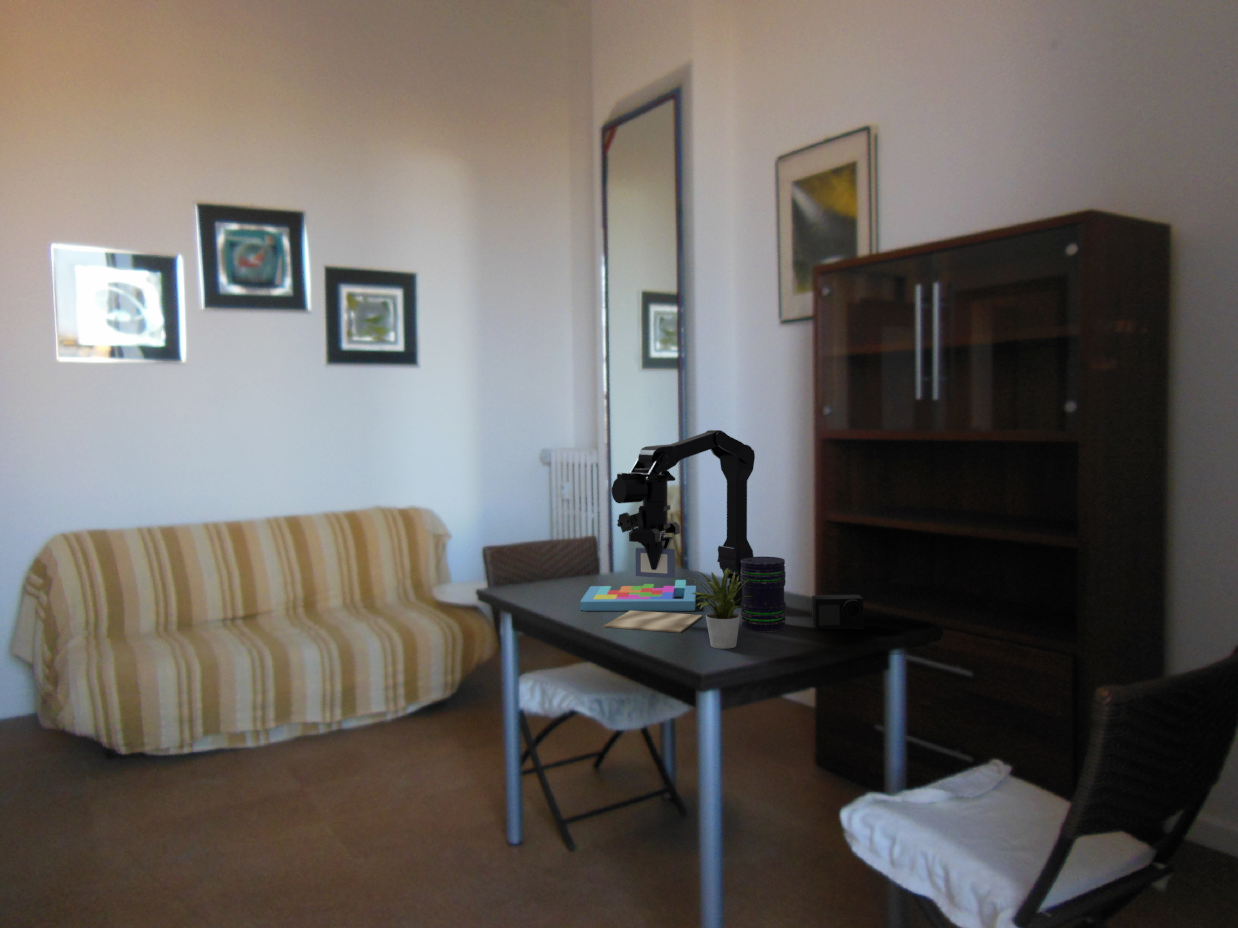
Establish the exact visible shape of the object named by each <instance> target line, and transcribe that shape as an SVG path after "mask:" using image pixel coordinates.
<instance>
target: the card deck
mask: <svg viewBox="0 0 1238 928" xmlns="http://www.w3.org/2000/svg"><path fill="white" fill-rule="evenodd" d="M675 559H676V549H675V548H668V549H664V548H663V550H662V554H661V557H660V560H659V563H658V566H657V569H656V570H652V569H651V566H650V563H649V559H648V556H647V552H646V549H645V547H644V546H643V547H642V546H641V547H639V546H638V547H635V577H640V578H641V577H642V578H644V577H645V578H661V579H662V578H663V579H675V578H676V560H675Z"/></svg>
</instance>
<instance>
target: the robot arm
mask: <svg viewBox="0 0 1238 928" xmlns="http://www.w3.org/2000/svg"><path fill="white" fill-rule="evenodd" d="M709 450H710V451H711V454H712V455H713V456H714V457H716V458H717V459H719V463H720V470H721V472H722V474H723V476H724V478H725V480H726V539H725V540H724V543H723V544H722V545H718V547H717V554H718V556H717V561H716V562H717V563H719V565H718V566H719V569H720V570H722V574H723V575H724V572H725V570H726V569H727V568H728V571H729V570H731V569H732V570H731V571H729V574H728V579H727V580H728V581H729V582H728V583H729V584H727V594H728V590H729V587H730V584H731V580H732V577H733V574H734V572H735V579H734V583H735V581H736V579H737V577H738V575H739V579H738V582H741V575H740V573H741V566H742V565H741V559H743V558H748V557H755V556H754V551H753V548H752V546H751V544H750V542H749V540H748V480H749V478H750V476H751V474H752V473H753V471H754V466H755V459H756V455H755V450H754V449H753V448H752V447H751V446H750V445H748V444H744V443H743V442H742V441H739V440H738V439H736V438H734V437H732V436H730V435H728V434H727V433H726V432H724V431H723V430H720V429H719V430H718V429H716V430H715V429H709V430H706V431H705V432H703V433H699V434H698V435H694V436H691V437H688V438H685V439H681V440H679V441H676V442H673V443H670V444H659V445H658V444H657V445H648V446H644V447H642V448H641V449H640V451H639V454H638V456H637V459H636V460H635V463H634V464H633V466H632V468H631V469H630V471H629V472H628V473H627V472H617V474H616V479H614V481H613V484H612V486H611V488H610V489H611V495H612V499H613V500H614V502H615V503H616V504H631V503H632V504H633V503H641V502H642V505H639V507H638V512H637V513H634V514H630V513H629V512H623V513H621V514H618V519H617V524H616V526H617V527H618V528H620V529H621V533H626V532H628V541H629V542H632V543H633V542H634V543H635V542H636V543H638V544H640V545H641V546H643V548H645V549H646V552H647V556H648V559H649V563H650V566H651V569H652V570H656V569H657V566H658V563H659V560H660V557H661V554H662V550H663V548H664V549H669V546H670V545H671V542H673V541H672V540H673V539H674V537H673V536H668V534H673V535H679V534H680V533H681V526H680V524H678V522H677V521H669V518H668V514H669V513H668V511H669V510H671V504H668V503H669V502H668V501H669V500H668V499H669V498H668V496H669V495H668V482H674V481H676V477H675V476H674V475H672V474H671V472H670V471H669V470H670V469H672V468H674V467H676V465H677V464H679V462H680V461H682V460H684V459H687V458H689V457H693V456H694V455H698V454H700V453H704V452H707V451H709ZM734 583H733V586H734ZM733 586H732V587H733ZM741 586H742V585H741V583H740V584H739V586H738V587H737V590H738V589H739V588H740V587H741ZM737 590H736V591H737ZM740 598H742V587H741V588H740V589H739V591H738V592H737V594H736V595H735V597H734V599H733V601H735V602H736V601H737V600H738V599H740ZM733 601H732V602H733ZM742 601H743V600H742V599H740V600H738V601H737V602H736V603H735V605H734V606H741V602H742ZM731 604H732V603H731Z"/></svg>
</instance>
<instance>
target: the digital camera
mask: <svg viewBox="0 0 1238 928" xmlns="http://www.w3.org/2000/svg"><path fill="white" fill-rule="evenodd" d="M864 610H865V609H864V598H863V597H862V596H861V595H860V594H825V595H820V594H817V595H812V596H811V612H812V613H811V615H812V616H811V617H812V618H811V620H812V622H811V626H812V625H813V626H814V627H815V628H814V627H813V626H812V627H813V628H814V630H815V629H853V628H863V629H865V628H864Z"/></svg>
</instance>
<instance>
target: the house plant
mask: <svg viewBox="0 0 1238 928" xmlns="http://www.w3.org/2000/svg"><path fill="white" fill-rule="evenodd" d="M731 570H732V569H731ZM731 570H729V571H731ZM729 571H728V568H727V569H726V570H725V572H724V574H723V576H722V578H721V579H722V580H721V584H720V582H719V580H718V578H717V576H716V575H715V574H714V573H713V572H712V571H711V577H712V580H711V579H710V578H708V577H707V576H706V575H705V574H704V573H702V572H700V571H696V570H694V572H696V573H699V574H700V575H702V577H703V578H705V579H704V580H706V582H707V584H708V585H709V586H708V588H707V587H706V584H705V583H703V582H702V581H700V583H699V580H698V579H695V578H692V580H695V581H697V582H695V581H694V582H691V583H695V584H699V585H700V586H701V587H703V589H704V590H705V591H706V592H707V593H706V592H700V591H697V590H696V593H692V594H695V595H696V596H697V595H698V596H699V597H696V598H692V599H696V600H700V599H701V602H697V604H695V608H696V607H697V606H700V607H699V610H701V609H702V608H704V607H705V606H708V608H709V609H711V611H712V612H709V613H707V614H705V621H706V625H707V631H708V636H709V638H708V639H709V643H710V646H711V647H712V648H715V649H720V650H724V649H725V650H727V649H732V648H735V647H737V643H738V642H737V641H738V635H739V627H740V620H741V614H740V613H737V612H734V611H735V610H736V609H737V608H740V610H742V609H741V606H734V605H735V603H736V602H737V601H738V600H740V599H742V598H744V597H752V596H744V597H742V598H740V599H738V600H737V601H736V602H735V601H733V599H734V597H735V595H736V594H737V592H738V591H739V589H740V588H741V587H742V586H743V585H744V584H745V582H744V583H743V584H742V586H741V587H740V588H739V589H738V590H737V587H738V586H739V584H740V583H741V582H738V579H739V575H738V577H737V579H736V581H735V583H734V579H735V572H734V574H733V577H732V580H731V584H730V587H729V590H728V594H727V586H728V580H729V579H728V574H729ZM686 579H688V580H689V577H688V578H686ZM686 579H685V580H686ZM747 581H748V580H747ZM747 581H746V582H747ZM733 583H734V586H733ZM732 586H733V587H732ZM736 590H737V591H736ZM709 591H710V592H711V593H712V594H711V593H710V592H709ZM702 599H704V600H705V601H704V600H702ZM732 601H733V602H732ZM731 603H732V604H731Z"/></svg>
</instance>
